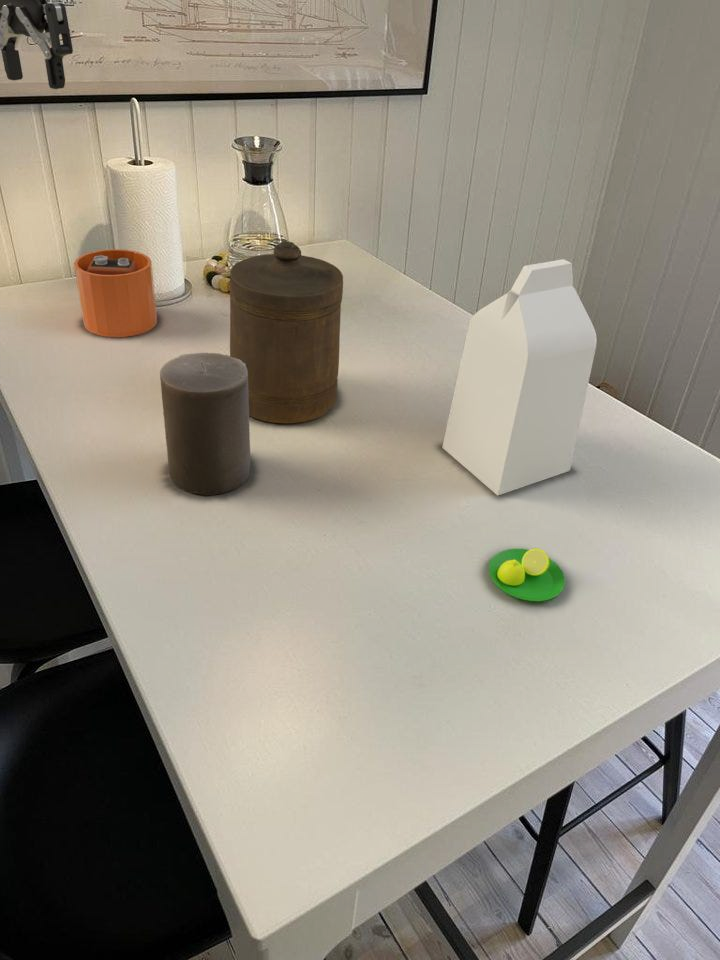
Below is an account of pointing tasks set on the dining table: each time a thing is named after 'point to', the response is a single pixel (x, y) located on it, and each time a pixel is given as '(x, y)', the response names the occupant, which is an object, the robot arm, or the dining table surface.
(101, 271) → the battery
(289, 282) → the wooden container
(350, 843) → the dining table surface
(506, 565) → the plate of lemons
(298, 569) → the dining table surface
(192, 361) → the pillar candle
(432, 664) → the dining table surface
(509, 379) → the milk
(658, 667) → the dining table surface
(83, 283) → the pot
